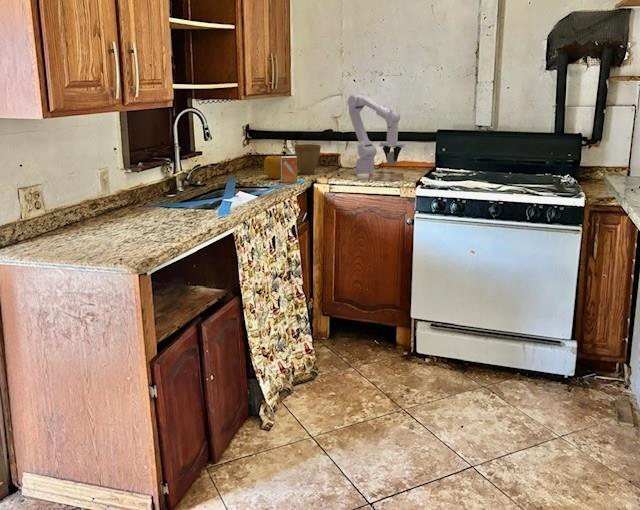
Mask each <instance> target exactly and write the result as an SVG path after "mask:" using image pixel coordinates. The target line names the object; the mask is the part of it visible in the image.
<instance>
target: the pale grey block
mask: <svg viewBox="0 0 640 510" xmlns="http://www.w3.org/2000/svg"><path fill="white" fill-rule="evenodd" d="M356 180H357V181H370V180H369V174H366V173H360V174H356Z"/></svg>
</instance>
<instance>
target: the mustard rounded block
mask: <svg viewBox="0 0 640 510" xmlns="http://www.w3.org/2000/svg"><path fill="white" fill-rule="evenodd" d="M281 156H282V155H281ZM281 156H280V155H276V154H274V155H267V156H266V157H265V158H264V161H263V169H264V171H265V174H266V176H267V177H268V178H269V179H273V180H281Z"/></svg>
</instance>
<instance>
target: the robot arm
mask: <svg viewBox="0 0 640 510" xmlns="http://www.w3.org/2000/svg"><path fill="white" fill-rule="evenodd" d="M346 103H347V105H348V115H349V117H350V121H351V123H352V126H353V130H354V132H355V135H356V139H357V140H358V144H357V150H358V151H357V154H358V157H359V158H357V160H356V162H355V175H357V174H360V173H366V174H369V173H372V172H375V170H374V169H375V167H374V165H375V163H374V162H375V157H376V156H377V152H378V151H377V148H376V146H374V144H373V142H372V141H371V140H370V139H369V137H368V133H367V131H366V129H365V126H364V122H363V120H362V116H361V112H362V111H363V109H364V108H365V106H366V107H368V108H369V109H371V110H373V111H374V112H375V113H376V115H377V116H379V117H381V118H382V119H384V120H385V122H386V142H379V144H378V145H379V146H378V147H380V148H381V147H382V150H383V153H384V155H385V159H386V161H387V153H389V152H390V151H391V148H392V149H393V150H392V151H394V161H397V162H398V158H399V155H400V153H401V151H402V149H405V148H406V143H399V142H398V140H399V139H398V137H399V122H400V120H401V114H400V113H399V112H398V111H394V110H393V109H391V108H388V107H387V105H385V104H380V105H379V104H378V103H376V102H375V101H374V100H372V99H370V98H369V97H368V96H367V95H365V94H351V95H349V97H348V99H347V102H346Z"/></svg>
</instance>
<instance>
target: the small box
mask: <svg viewBox="0 0 640 510" xmlns="http://www.w3.org/2000/svg"><path fill="white" fill-rule="evenodd" d="M280 181H281V183H288V184H289V183H298V163H297V157H296V155H288V156H287V155H285V156H282V155H281V178H280Z"/></svg>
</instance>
